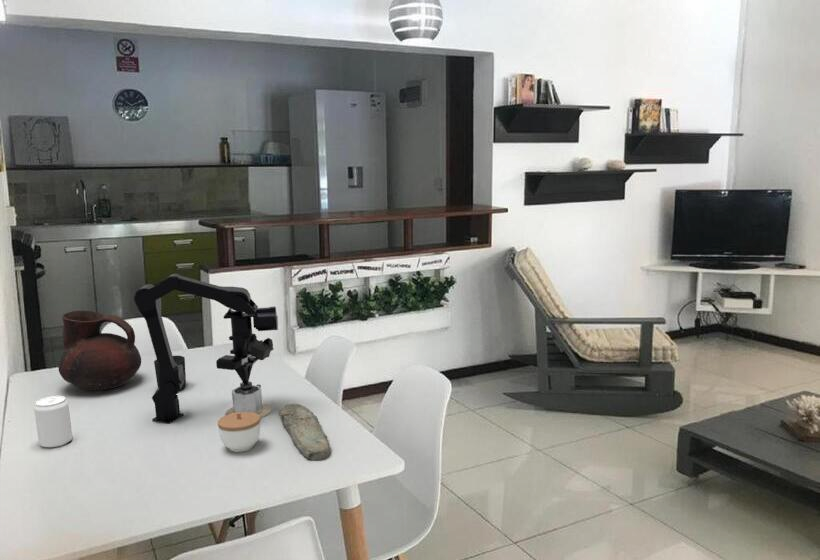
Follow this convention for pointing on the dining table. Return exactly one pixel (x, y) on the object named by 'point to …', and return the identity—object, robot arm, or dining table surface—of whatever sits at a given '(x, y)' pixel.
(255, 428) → the lidded jar
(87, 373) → the jug
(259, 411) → the moka pot
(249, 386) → the dark round knob
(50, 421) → the beverage can
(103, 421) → the dining table surface
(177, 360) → the pen holder
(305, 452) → the long grey stone
